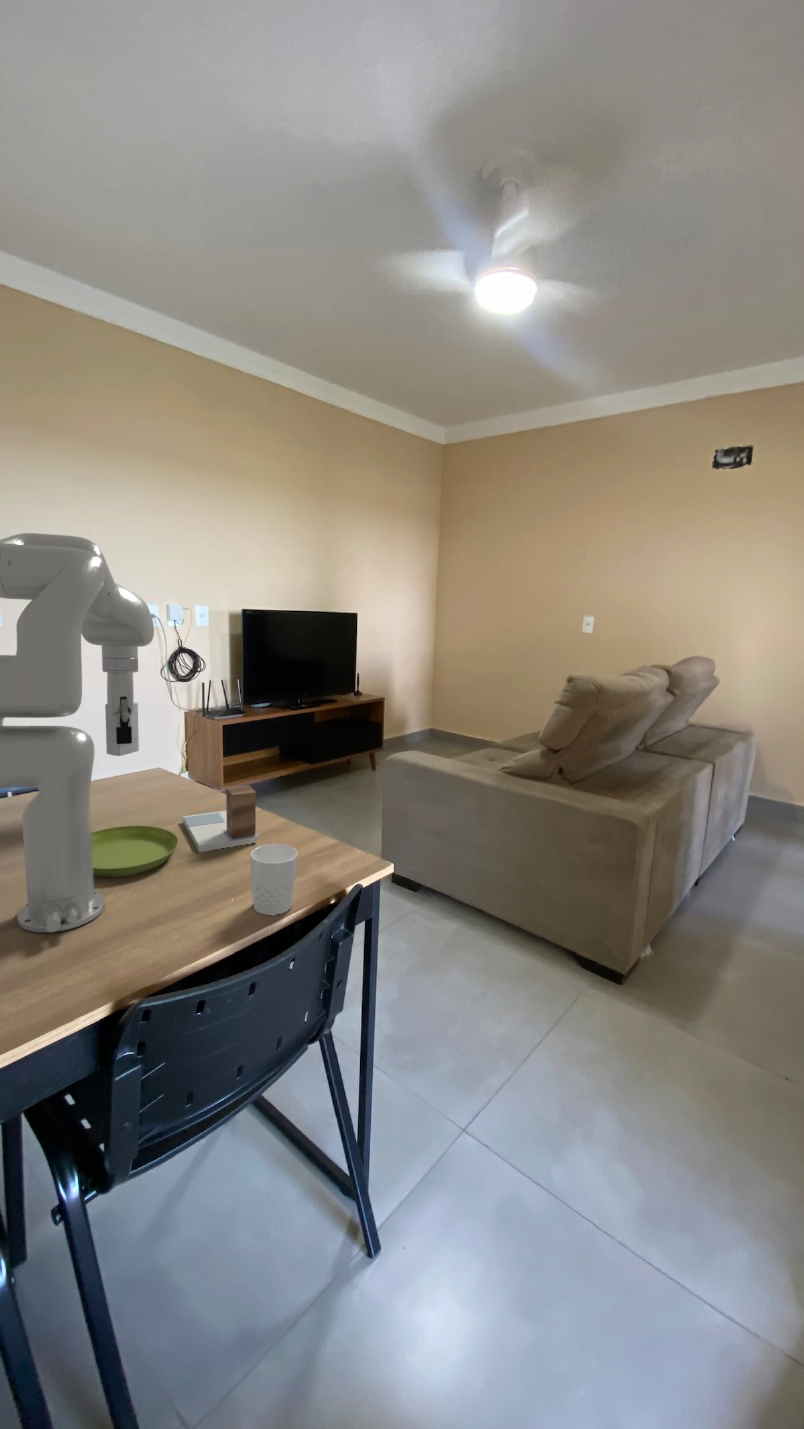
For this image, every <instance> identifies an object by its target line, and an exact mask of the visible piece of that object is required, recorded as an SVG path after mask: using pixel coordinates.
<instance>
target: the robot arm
mask: <svg viewBox="0 0 804 1429" xmlns="http://www.w3.org/2000/svg"><path fill="white" fill-rule="evenodd" d="M0 599H6V600H28V601H30V602H29V603H27V605H26V607H24V609H23V610H22V612H21V613H20V615H19V616H18V618H17V622H16V653H15V654H13V655H12V654H11V655H9V654H7V655H6V654H0V789H1V788H3V789H5V788H30V789H32V788H35V789H38V793H37V795H36V796H35V797H34V798H32V799H31V801H30V802H28V804H27V805H26V807H25V809H24V810H23V813H22V818H21V826H22V827H21V828H22V840H23V841H22V842H23V854H24V866H25V867H24V869H25V880H26V881H25V882H26V896H27V897H26V898H27V902H26V903H24V904H23V905H22V906H21V907H20V908H19V910H18V911H17V915H16V919H17V920H16V921H17V924H18V926H19V927H21V928H22V929H24V930H26V931H29V932H34V933H42V934H43V933H56V932H62V931H66V930H67V931H68V930H72V929H75V928H78V927H80V926H82V925H86V924H87V923H89V922H91V921H93V920H94V919H95V918H97V917H99V915H100V914H101V913H102V912H103V911H104V910H105V906H106V899H105V896H104V895H103V894H102V893H101V892H100V891H97V890H95V881H94V875H93V854H92V832H93V831H92V815H91V812H92V811H91V788H92V787H91V785H92V776H93V768H94V762H95V761H94V760H95V743H94V740H93V739H92V737H91V736H90V735H89V734H88V733H87V732H86V731H84V730H82V729H80V728H77V727H73V726H72V727H71V726H66V725H65V726H64V725H4V719H5V718H12V719H13V718H17V719H18V718H19V719H20V718H21V719H22V718H23V719H24V718H25V719H28V718H29V719H32V718H35V719H36V718H43V719H44V718H45V719H48V718H53V719H54V718H63V717H65V718H66V717H68V716H71V715H73V714H75V713H76V712H78V710H79V708H80V707H81V705H82V698H83V697H82V696H83V665H82V664H83V663H82V662H83V661H82V660H83V659H82V637H83V639H84V641H86V642H87V643H89V644H91V645H94V646H95V645H96V646H101V666H102V667H101V669H102V672H103V673H107V675H106V686H107V687H106V692H107V694H106V696H107V698H106V699H107V700H106V704H109V714H110V715H112V716H113V714H116V713H117V727H116V740H117V744H131V743H132V727H131V720H130V715H131V714H133V703H134V702H135V701H134V700H135V699H134V697H135V696H134V693H135V692H134V673H138V672H139V654H138V653H139V652H138V649H139V647H146V646H149V645H150V644H151V642H152V641H153V639H154V637H155V626H154V620H153V616H152V614H151V611H150V608H149V605H148V603H146V601H145V600H144V599H142V598H141V596H139V595H137V594H136V593H134V592H132V591H130V590H129V589H127V588H125V587H123V586H122V585H120V584H118V583H116V582H115V580H114V578H113V575H112V574H111V571H110V568H109V566H108V563H107V561H106V558H105V557H104V554H103V552H102V549H100V547H99V546H98V545H97V544H96V543H94V542H93V541H92V540H89V539H87V538H85V537H81V536H75V535H74V536H73V535H62V534H49V533H48V534H47V533H46V534H45V533H35V532H25V533H19V534H15V535H14V534H13V535H11V536H8V537H5V538H2V539H1V538H0ZM120 703H121V705H120ZM119 707H120V710H121V711H122V713H119V711H118V709H119ZM130 709H131V710H130Z"/></svg>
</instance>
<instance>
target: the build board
mask: <svg viewBox="0 0 804 1429" xmlns="http://www.w3.org/2000/svg"><path fill="white" fill-rule="evenodd" d="M182 823H183V825H184V827H185V829H186V832H187V833H188V835H189V836H190V838H191V840H192V842H193V843H194V846H195V847H196V849H197V851H198V853H205V852H211V850H212V851H215V850H214V849H218V850H222V849H221V848H224V849H226V848H225V847H230V848H233V847H232V846H236V845H243V844H248V843H255V842H256V843H257V838H260V836H261V835H259V834H258V833H257V830H255V836H250V837H244V838H237V839H232V838H231V836H230V835H229V834H228V832H227V810H221V811H220V810H219V811H214V812H205V813H197V814H190V815H183V816H182ZM256 843H255V844H256ZM243 846H244V845H243Z"/></svg>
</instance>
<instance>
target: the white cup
mask: <svg viewBox="0 0 804 1429" xmlns="http://www.w3.org/2000/svg"><path fill="white" fill-rule="evenodd" d="M297 860H298V850H297V849H296V848H294V847H293V846H291V845H287V844H281V843H270V844H269V843H268V844H263V845H260V846H258V847H255V848H254V849H252V851H251V852H250V870H251V871H250V873H251V875H250V877H251V878H250V879H251V890H252V891H251V893H252V900H253V901H252V904H253V905H254V906H253V905H252V906H253V910H254V909H255V910H257V911H258V912H260V913H263V914H275V915H274V916H277V915H276V914H280V915H283V914H285V913H284V912H286V911H287V912H289V911H290V910H291V909H290V908H292V907H293V905H294V892H295V886H296V885H295V884H296V876H297ZM292 904H293V905H292ZM291 906H292V907H291ZM289 909H290V910H289ZM255 910H254V911H255ZM288 910H289V911H288ZM258 912H257V913H258ZM287 912H286V913H287ZM282 913H283V914H282ZM263 914H262V915H263Z"/></svg>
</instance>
